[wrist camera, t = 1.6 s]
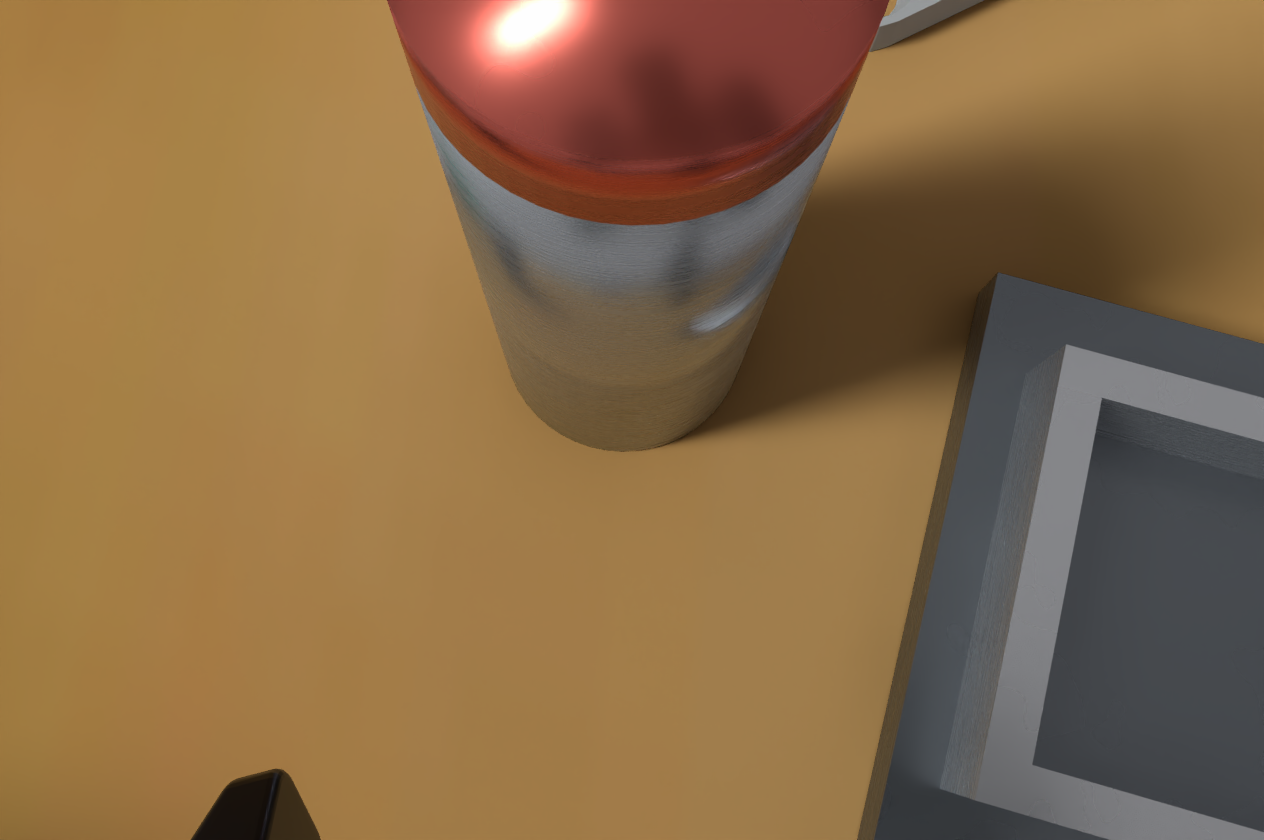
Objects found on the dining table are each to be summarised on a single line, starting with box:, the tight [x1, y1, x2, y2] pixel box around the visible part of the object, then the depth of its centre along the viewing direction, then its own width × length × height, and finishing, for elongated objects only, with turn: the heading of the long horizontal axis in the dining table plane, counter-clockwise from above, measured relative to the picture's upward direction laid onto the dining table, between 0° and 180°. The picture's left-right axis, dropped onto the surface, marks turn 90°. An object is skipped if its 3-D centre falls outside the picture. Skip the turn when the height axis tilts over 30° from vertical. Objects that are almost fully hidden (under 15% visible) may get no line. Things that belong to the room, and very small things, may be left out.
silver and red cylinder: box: [387, 0, 889, 452], centre depth 17 cm, size 5×5×13 cm
